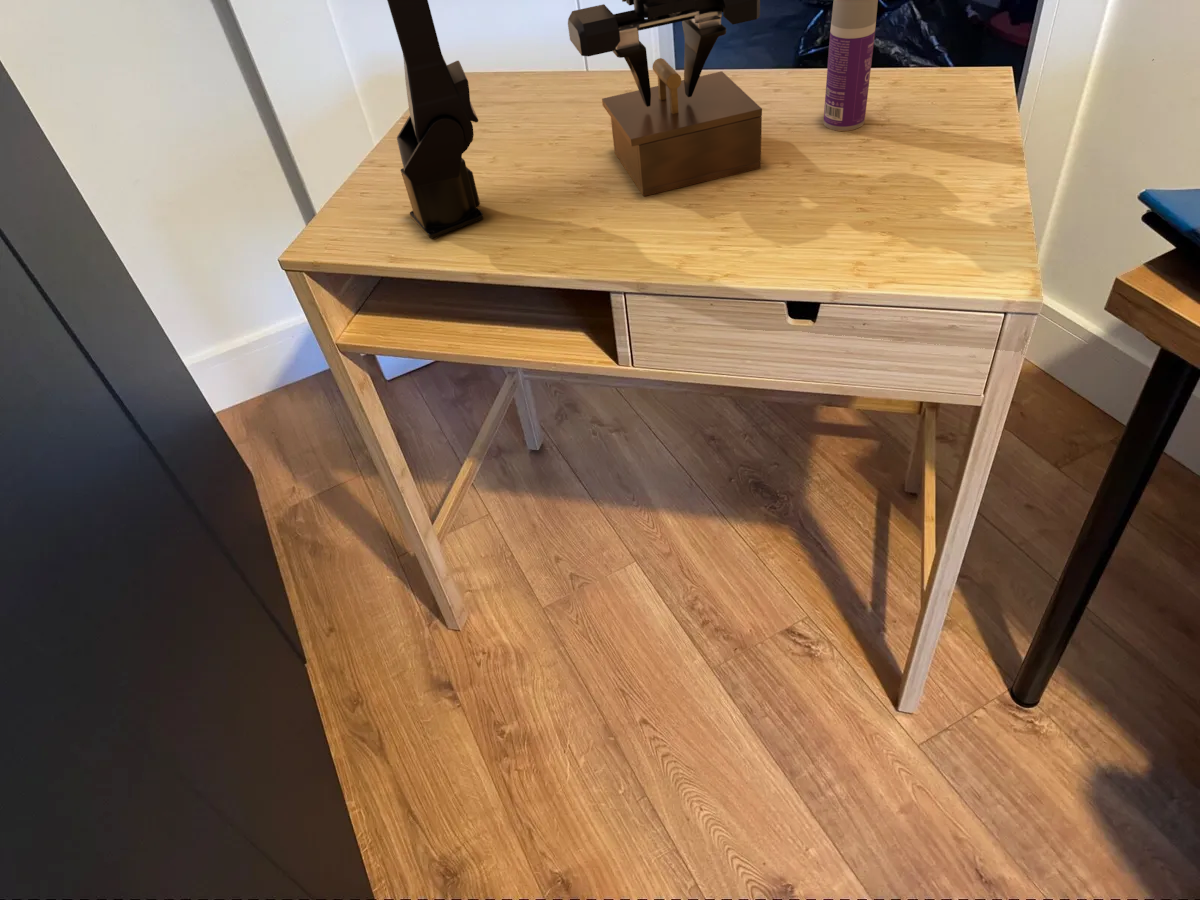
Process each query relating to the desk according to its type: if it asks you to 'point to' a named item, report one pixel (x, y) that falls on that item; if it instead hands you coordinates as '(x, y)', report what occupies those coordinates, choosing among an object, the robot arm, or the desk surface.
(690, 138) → the compartment
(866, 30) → the container
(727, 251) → the desk surface
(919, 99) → the desk surface
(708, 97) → the box door
